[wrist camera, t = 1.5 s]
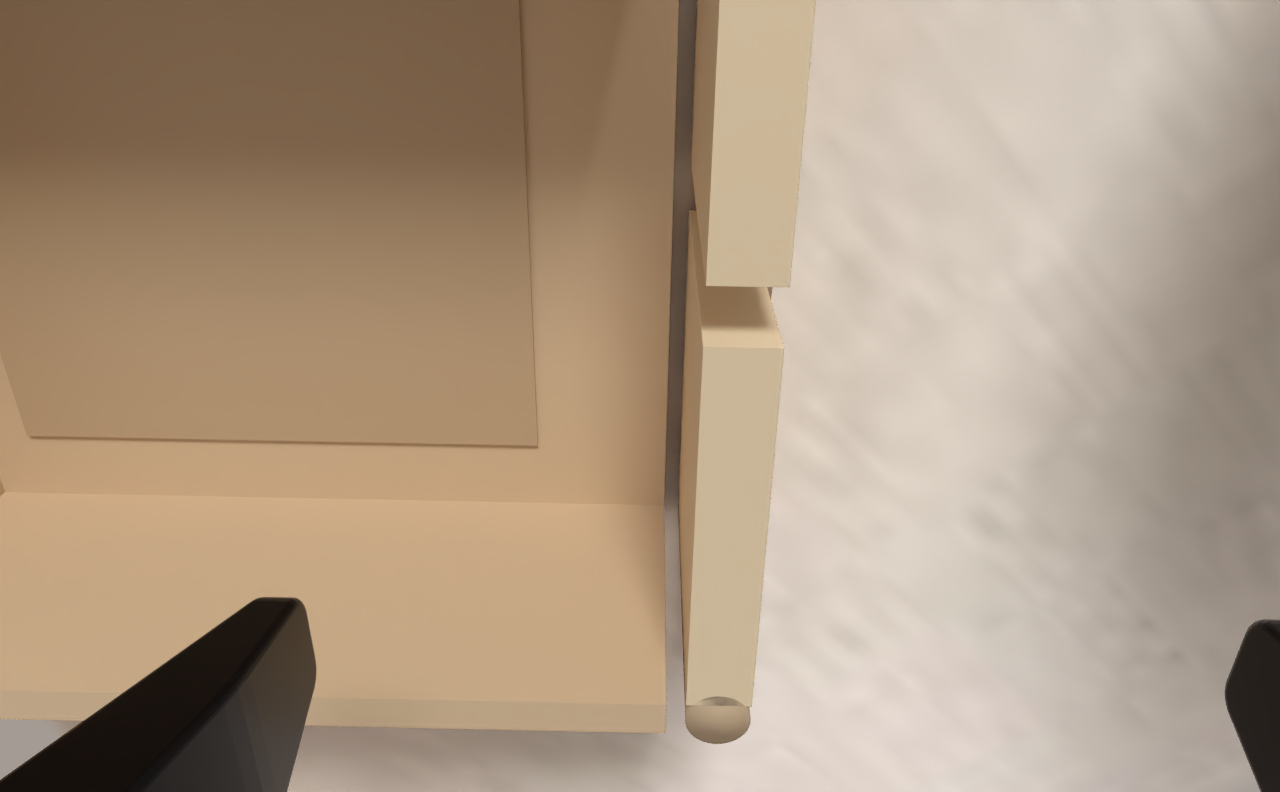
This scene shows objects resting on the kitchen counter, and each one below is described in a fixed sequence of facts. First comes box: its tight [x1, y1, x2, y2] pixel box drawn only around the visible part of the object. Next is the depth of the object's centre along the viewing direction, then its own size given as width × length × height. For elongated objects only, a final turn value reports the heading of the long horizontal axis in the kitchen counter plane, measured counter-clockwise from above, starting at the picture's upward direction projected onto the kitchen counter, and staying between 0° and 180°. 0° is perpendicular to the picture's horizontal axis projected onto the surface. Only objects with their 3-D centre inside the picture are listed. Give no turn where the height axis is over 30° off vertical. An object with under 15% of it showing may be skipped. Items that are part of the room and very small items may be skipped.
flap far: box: [678, 210, 784, 744], centre depth 16 cm, size 1×7×6 cm, turn 179°
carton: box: [0, 0, 679, 733], centre depth 14 cm, size 14×14×6 cm
